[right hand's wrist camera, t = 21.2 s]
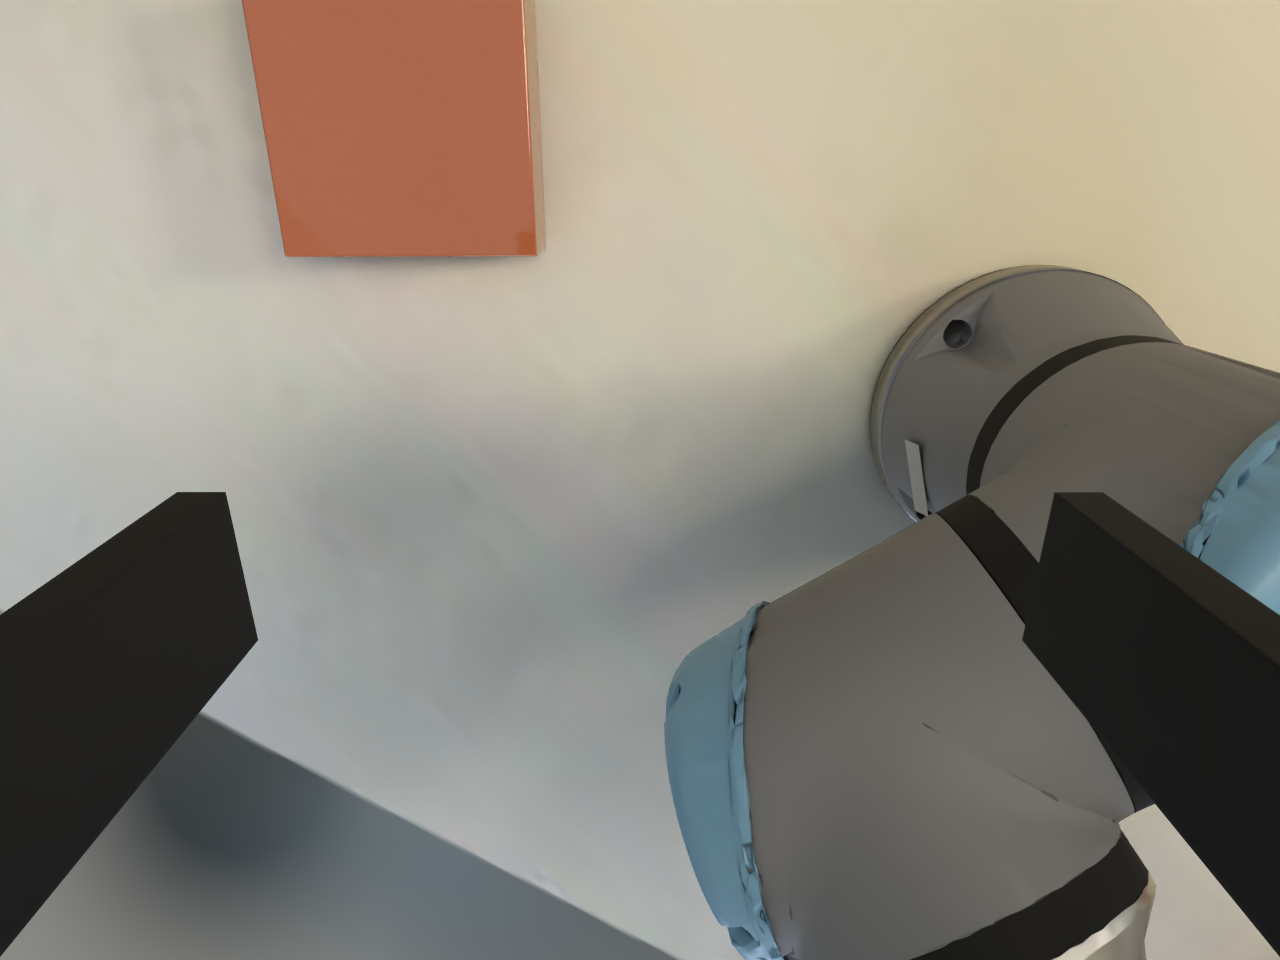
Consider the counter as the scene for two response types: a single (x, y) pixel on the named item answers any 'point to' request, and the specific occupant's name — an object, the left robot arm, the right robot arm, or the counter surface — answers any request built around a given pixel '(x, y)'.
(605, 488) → the counter surface
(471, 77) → the orange square block
